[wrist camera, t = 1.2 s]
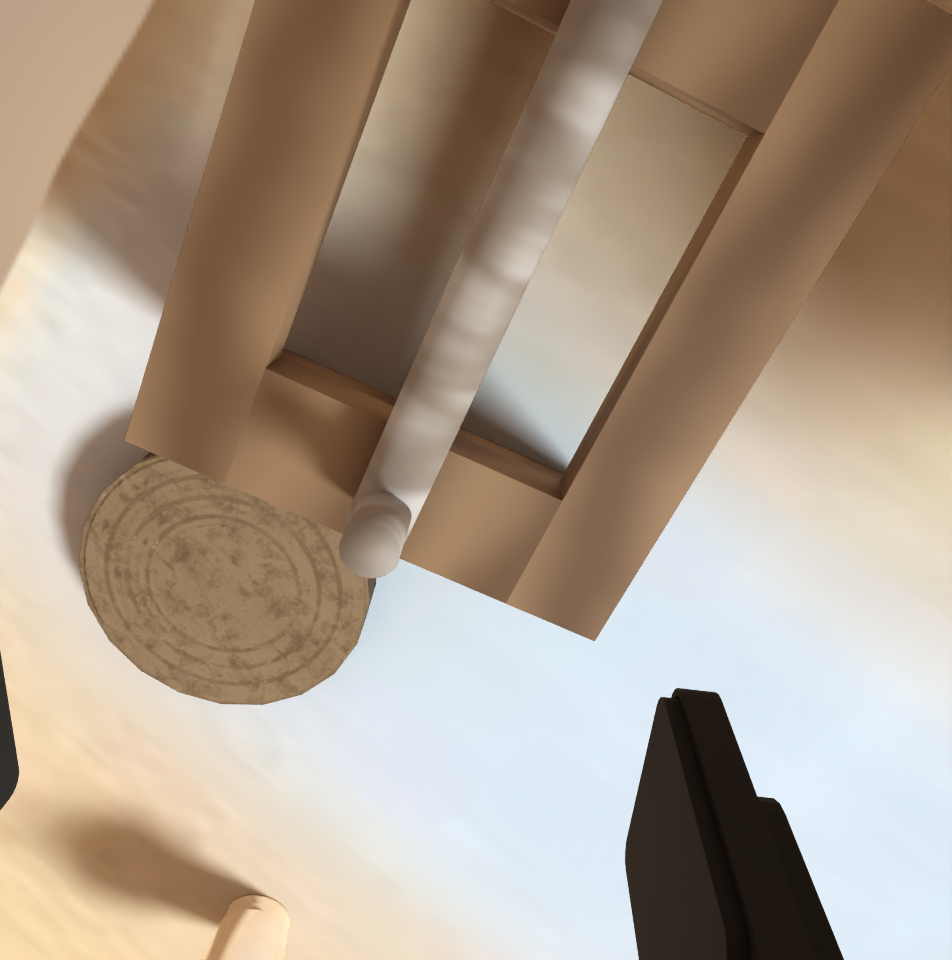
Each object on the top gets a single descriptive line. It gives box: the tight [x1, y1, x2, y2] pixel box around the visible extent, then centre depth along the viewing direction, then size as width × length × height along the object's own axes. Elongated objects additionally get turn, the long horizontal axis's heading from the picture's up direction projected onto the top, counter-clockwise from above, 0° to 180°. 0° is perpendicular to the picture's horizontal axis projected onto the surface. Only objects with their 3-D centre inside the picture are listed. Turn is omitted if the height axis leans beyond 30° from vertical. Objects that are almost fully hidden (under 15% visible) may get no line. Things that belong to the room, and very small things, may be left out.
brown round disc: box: [79, 453, 376, 705], centre depth 44 cm, size 16×16×3 cm
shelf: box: [125, 0, 952, 641], centre depth 30 cm, size 20×24×17 cm
